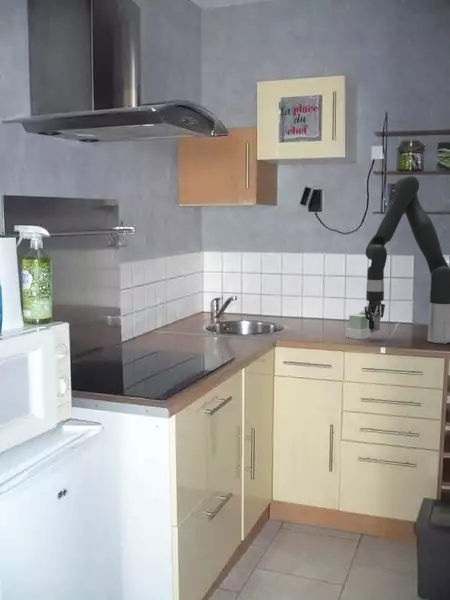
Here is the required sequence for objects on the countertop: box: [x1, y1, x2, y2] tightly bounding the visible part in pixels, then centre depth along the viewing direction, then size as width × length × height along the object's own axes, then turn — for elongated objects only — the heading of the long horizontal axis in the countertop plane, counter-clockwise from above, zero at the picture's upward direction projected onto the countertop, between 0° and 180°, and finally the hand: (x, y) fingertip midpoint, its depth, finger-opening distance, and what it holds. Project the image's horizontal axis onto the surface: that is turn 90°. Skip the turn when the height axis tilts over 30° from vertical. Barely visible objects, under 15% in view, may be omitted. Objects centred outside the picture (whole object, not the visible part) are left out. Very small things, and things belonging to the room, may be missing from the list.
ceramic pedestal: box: [344, 327, 371, 340], centre depth 295 cm, size 8×8×4 cm
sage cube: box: [348, 313, 369, 330], centre depth 294 cm, size 6×6×6 cm
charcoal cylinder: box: [369, 316, 381, 332], centre depth 288 cm, size 5×5×6 cm
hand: (374, 328), depth 288 cm, fingers closed on charcoal cylinder, 4 cm apart
